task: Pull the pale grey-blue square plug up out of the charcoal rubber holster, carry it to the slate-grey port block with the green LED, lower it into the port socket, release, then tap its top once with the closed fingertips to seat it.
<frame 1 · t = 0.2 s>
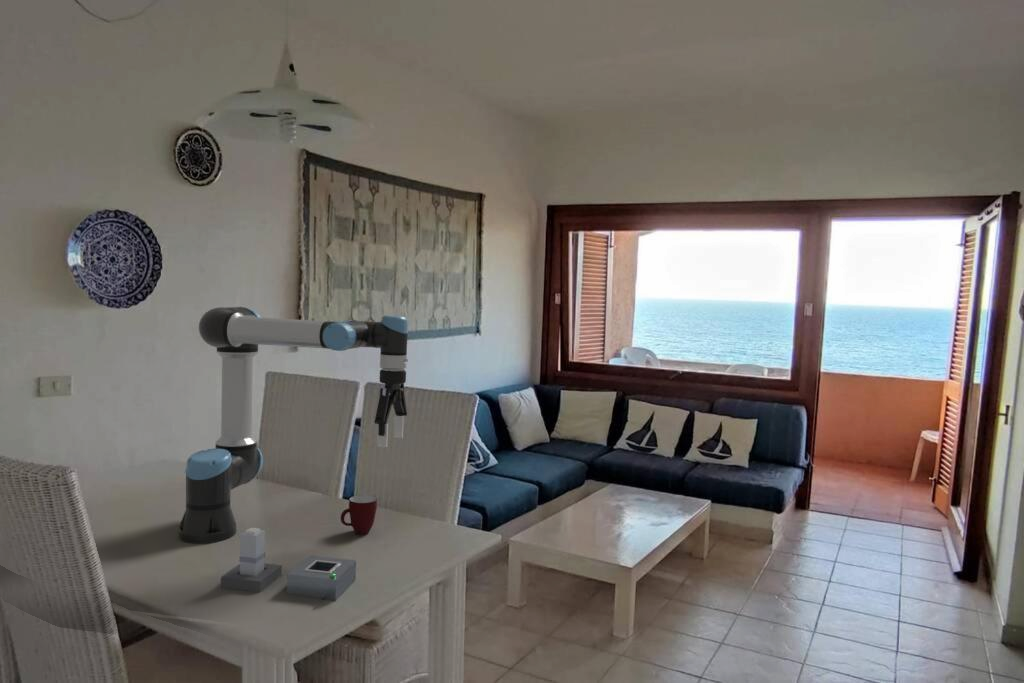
hand: (390, 442, 200), 28 cm above the table, fingers open, 13 cm apart
mug: (358, 533, 203), on the table
plug: (251, 581, 165), resting on holster
port: (322, 587, 165), on the table
holster: (251, 583, 165), on the table
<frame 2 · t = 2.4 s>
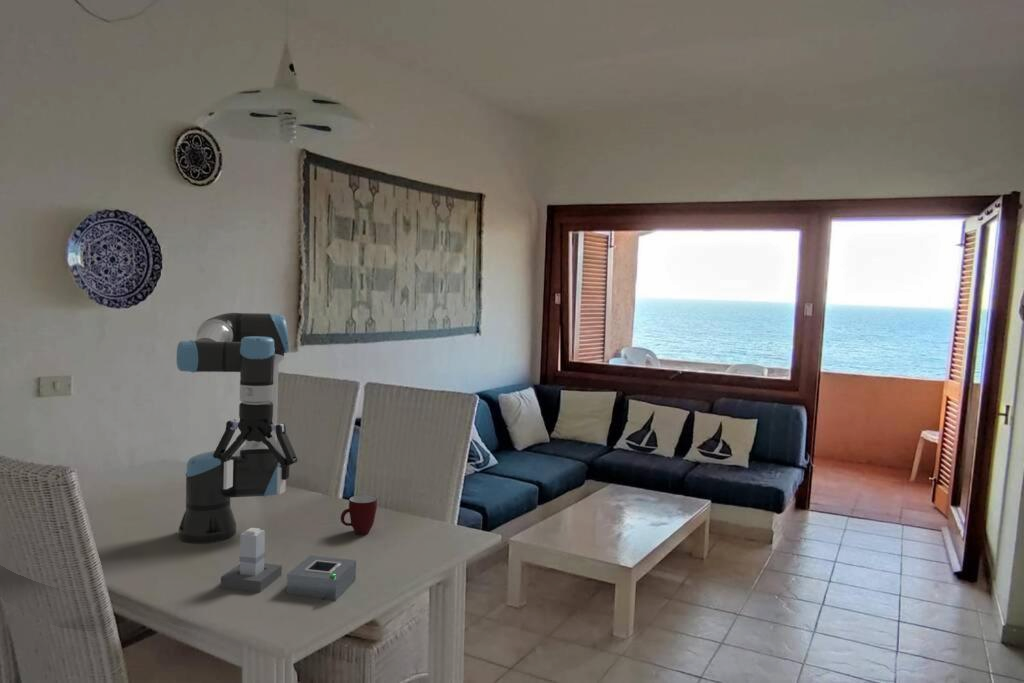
hand: (254, 490, 164), 23 cm above the table, fingers open, 13 cm apart
nothing on the table moved.
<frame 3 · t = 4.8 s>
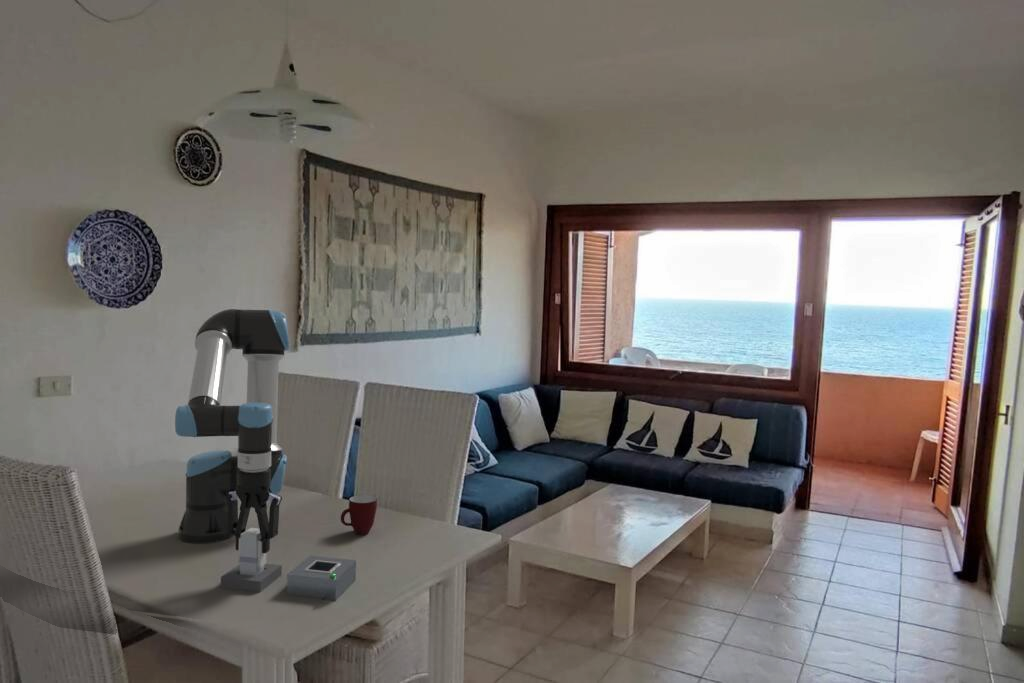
hand: (252, 564, 165), 5 cm above the table, fingers closed on plug, 4 cm apart
plug: (251, 581, 165), resting on holster, touching gripper
everything else where it was.
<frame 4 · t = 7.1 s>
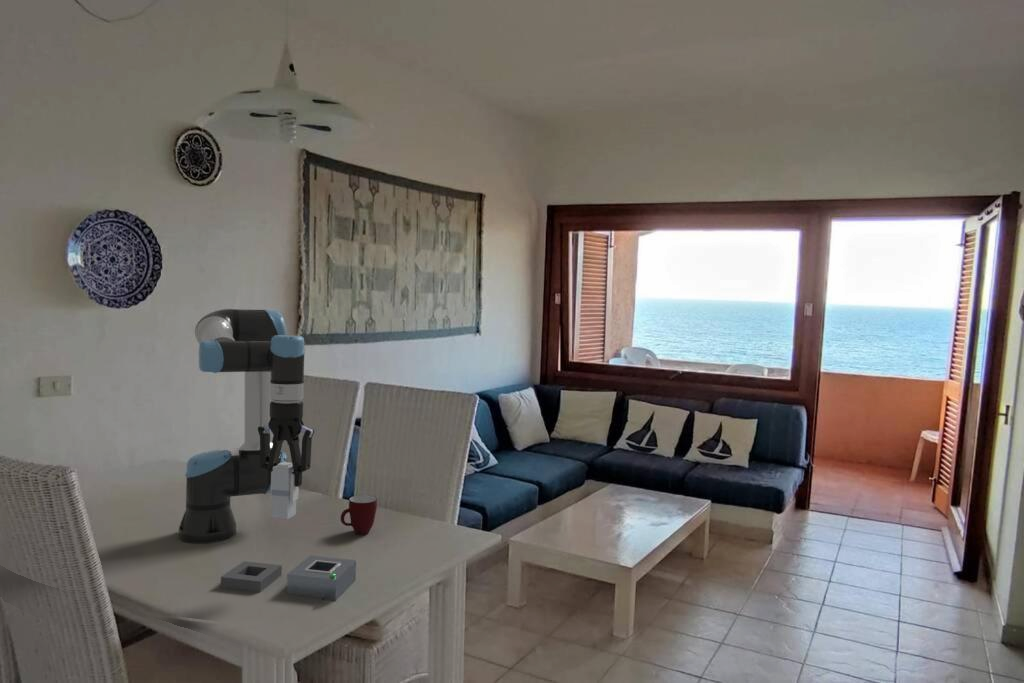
hand: (284, 498, 163), 21 cm above the table, fingers closed on plug, 4 cm apart
plug: (283, 515, 163), point 17 cm above the table, touching gripper
everything else where it was.
when the fingers open (7 cm above the table, at t = 9.8 s): plug drops 2 cm, resting on port.
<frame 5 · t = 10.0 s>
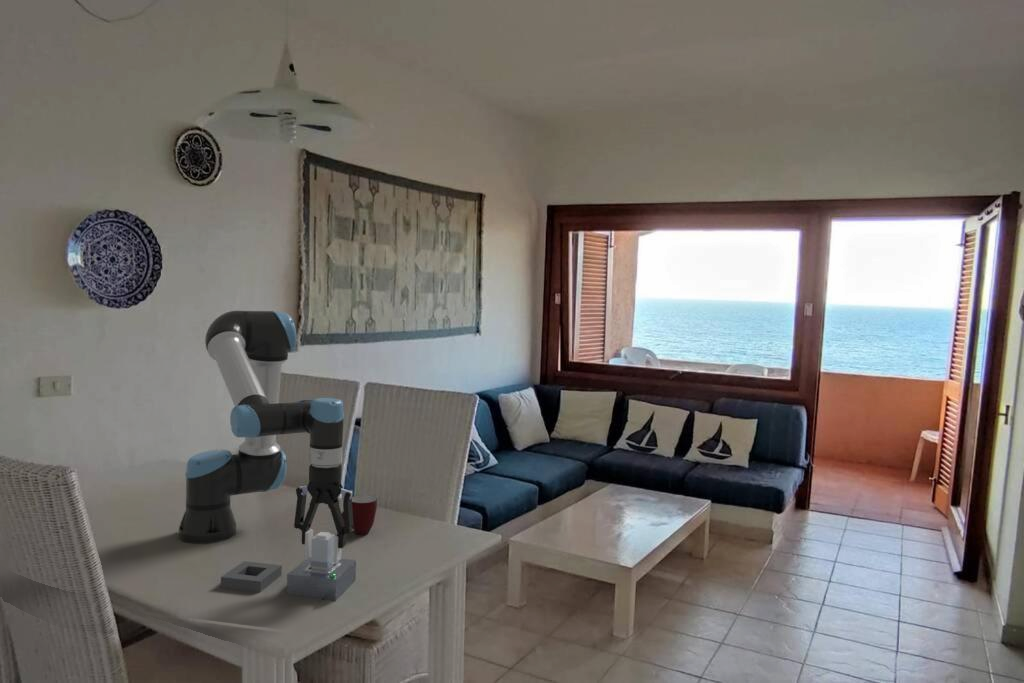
hand: (322, 558, 164), 7 cm above the table, fingers open, 7 cm apart
plug: (322, 585, 164), resting on port
everything else where it was.
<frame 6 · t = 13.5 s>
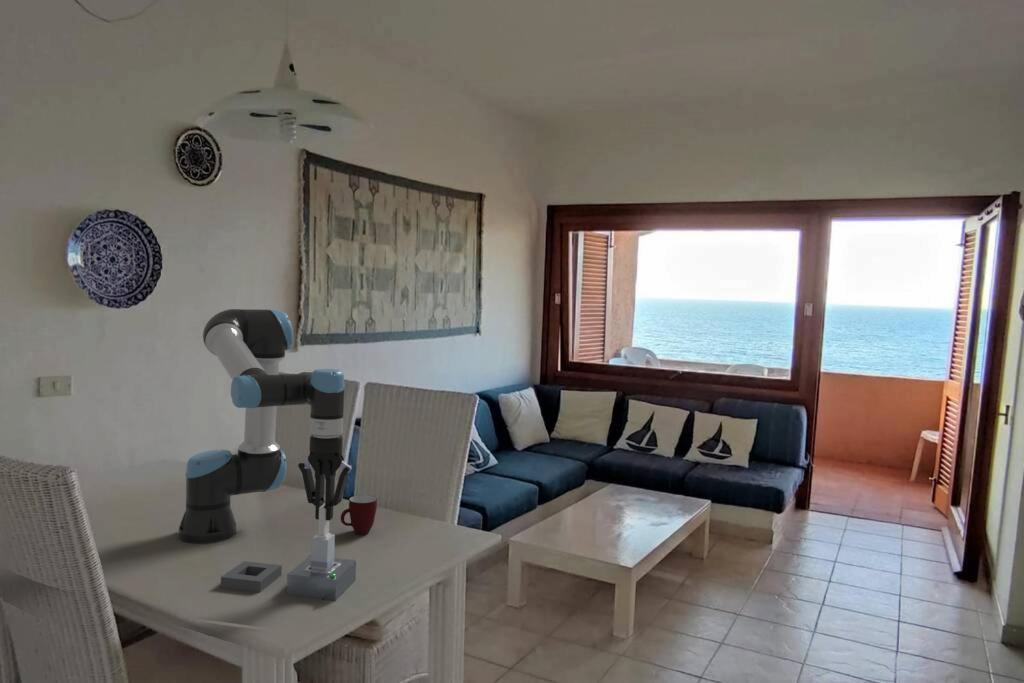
hand: (323, 532, 164), 13 cm above the table, fingers closed
plug: (322, 585, 164), resting on port, touching gripper
everything else where it was.
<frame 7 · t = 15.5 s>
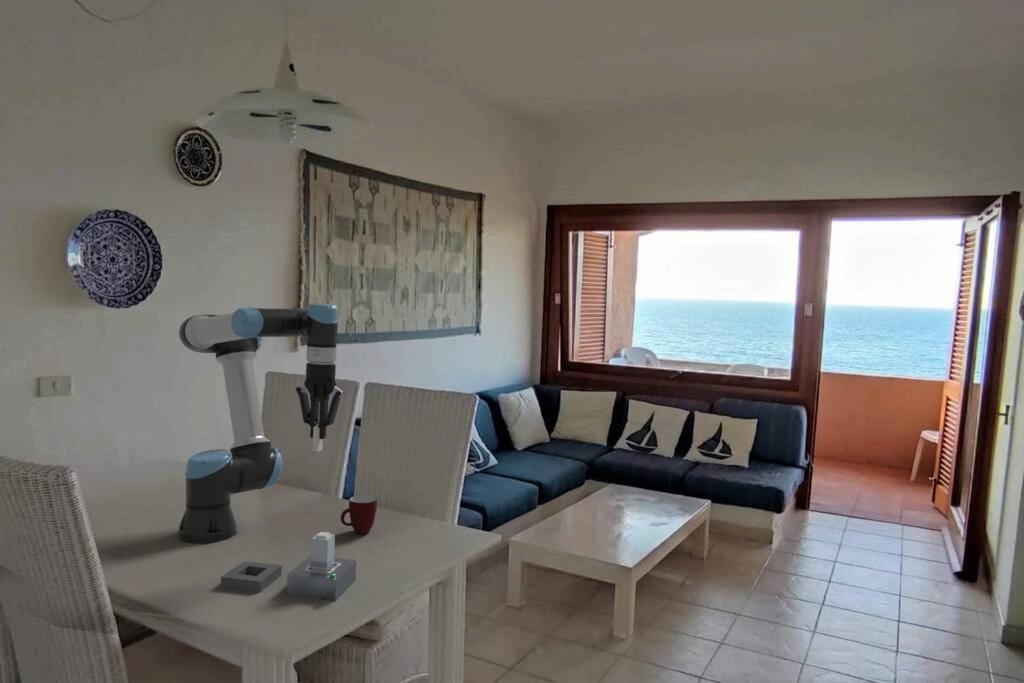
hand: (317, 450, 183), 28 cm above the table, fingers closed
plug: (322, 585, 164), resting on port
everything else where it was.
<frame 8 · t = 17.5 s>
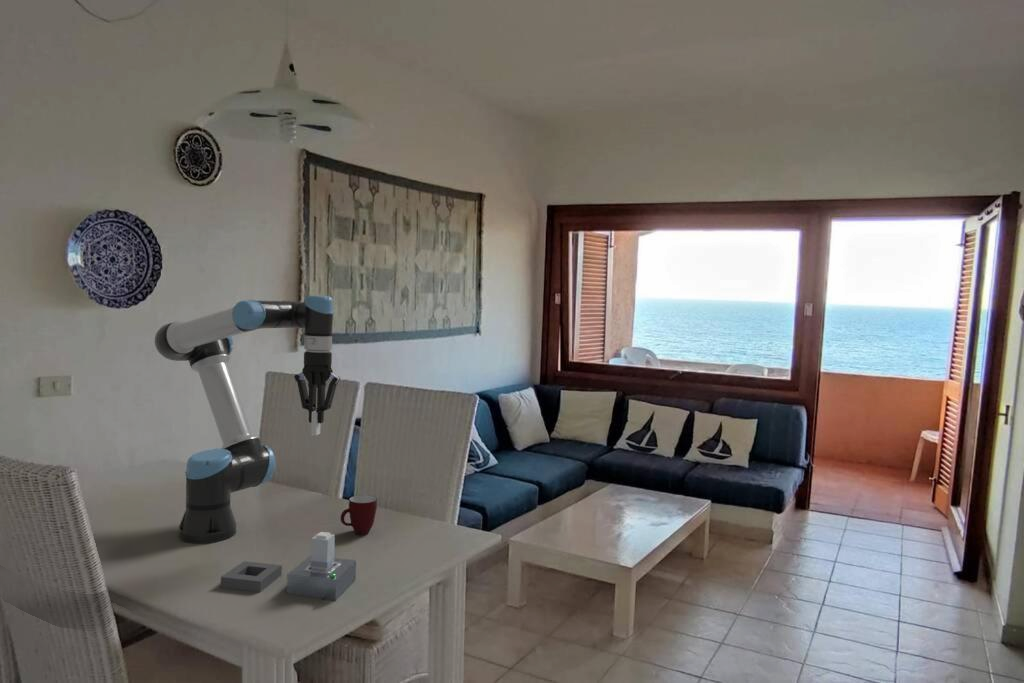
hand: (315, 434, 194), 30 cm above the table, fingers closed
nothing on the table moved.
at the end: plug 0.1 cm off-centre on the port, point 0.5 cm above the port's base; plug tilted 0°; the gripper is holding nothing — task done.
